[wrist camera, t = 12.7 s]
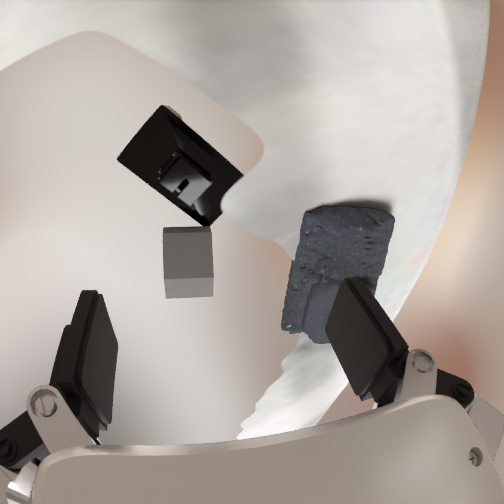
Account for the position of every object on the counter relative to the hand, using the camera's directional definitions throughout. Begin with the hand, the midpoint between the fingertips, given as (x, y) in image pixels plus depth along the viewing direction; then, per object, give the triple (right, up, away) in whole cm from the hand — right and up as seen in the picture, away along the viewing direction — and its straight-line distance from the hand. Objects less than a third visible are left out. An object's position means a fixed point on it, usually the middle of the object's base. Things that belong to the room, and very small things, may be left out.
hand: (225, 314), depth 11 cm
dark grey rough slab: (+13, -1, +29) cm, 32 cm away
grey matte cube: (-6, +2, +21) cm, 22 cm away
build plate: (-6, +11, +17) cm, 21 cm away
